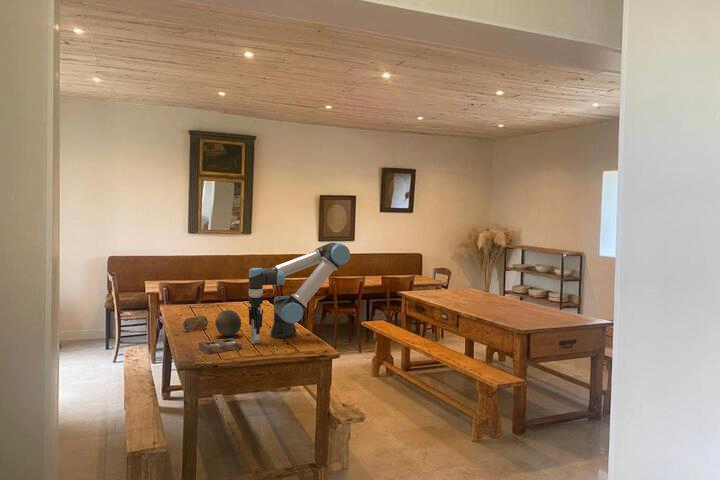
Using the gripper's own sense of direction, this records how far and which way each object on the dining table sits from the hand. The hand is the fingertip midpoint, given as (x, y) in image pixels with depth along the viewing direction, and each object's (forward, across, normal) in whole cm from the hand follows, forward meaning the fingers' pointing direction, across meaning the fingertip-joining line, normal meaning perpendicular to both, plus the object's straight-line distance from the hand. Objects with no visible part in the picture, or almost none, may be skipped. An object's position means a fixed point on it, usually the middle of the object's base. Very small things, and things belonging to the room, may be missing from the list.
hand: (255, 339), depth 284 cm
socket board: (+2, 0, -20) cm, 20 cm away
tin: (+2, -47, -16) cm, 50 cm away
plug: (+2, 0, 0) cm, 2 cm away
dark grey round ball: (+2, -22, -6) cm, 23 cm away
